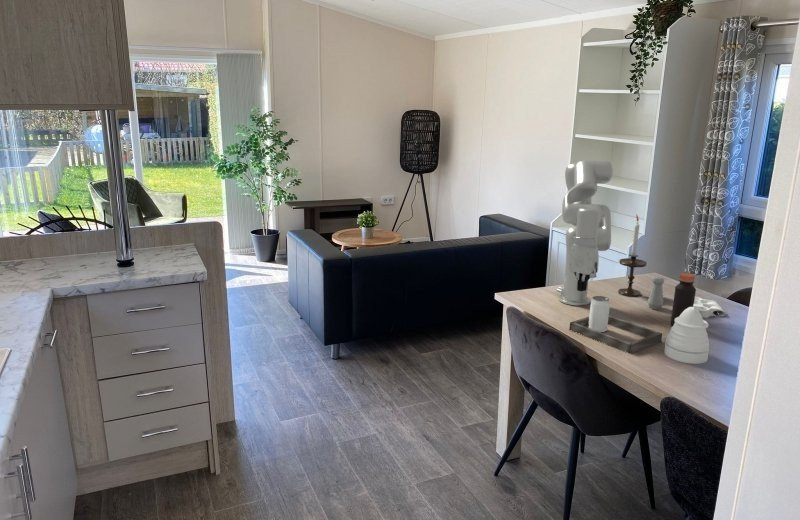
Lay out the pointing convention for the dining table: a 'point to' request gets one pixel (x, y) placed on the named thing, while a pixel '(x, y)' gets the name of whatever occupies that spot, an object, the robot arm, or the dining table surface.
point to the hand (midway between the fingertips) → (581, 290)
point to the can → (599, 313)
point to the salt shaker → (656, 294)
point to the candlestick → (632, 265)
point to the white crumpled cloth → (708, 307)
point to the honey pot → (688, 337)
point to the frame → (650, 339)
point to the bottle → (683, 295)
